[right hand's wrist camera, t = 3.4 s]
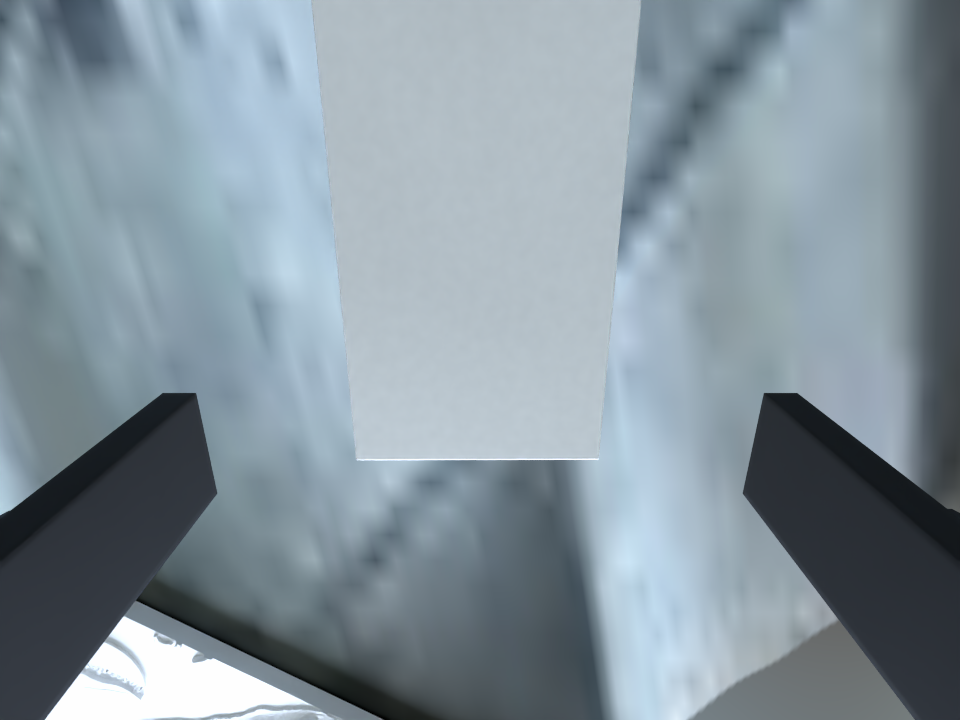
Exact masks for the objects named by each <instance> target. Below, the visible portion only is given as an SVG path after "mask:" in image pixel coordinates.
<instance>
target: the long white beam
mask: <svg viewBox="0 0 960 720" xmlns="http://www.w3.org/2000/svg"><path fill="white" fill-rule="evenodd" d="M311 1H312V11H313V21H314V31H315V42H316V52H317V62H318V72H319V83H320V93H321V103H322V113H323V124H324V134H325V144H326V155H327V165H328V175H329V185H330V196H331V206H332V216H333V226H334V237H335V247H336V257H337V267H338V278H339V288H340V298H341V308H342V319H343V329H344V339H345V349H346V360H347V370H348V380H349V391H350V401H351V411H352V421H353V432H354V442H355V452H356V459H357V460H597V459H598V458H599V449H600V438H601V428H602V417H603V406H604V395H605V385H606V374H607V363H608V353H609V342H610V331H611V320H612V310H613V299H614V288H615V278H616V267H617V256H618V245H619V235H620V224H621V213H622V203H623V192H624V181H625V170H626V160H627V149H628V138H629V128H630V117H631V106H632V95H633V85H634V74H635V63H636V53H637V42H638V31H639V21H640V10H641V0H311Z"/></svg>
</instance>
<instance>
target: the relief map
mask: <svg viewBox="0 0 960 720" xmlns="http://www.w3.org/2000/svg"><path fill="white" fill-rule="evenodd" d="M45 720H383V719H381V718H379V717H377V716H375V715H373V714H371V713H368V712H366V711H364V710H362V709H360V708H358V707H356V706H354V705H352V704H350V703H348V702H346V701H343V700H341V699H339V698H337V697H335V696H333V695H331V694H329V693H327V692H325V691H323V690H321V689H318V688H316V687H314V686H312V685H310V684H308V683H306V682H304V681H302V680H300V679H298V678H296V677H293V676H291V675H289V674H287V673H285V672H283V671H281V670H279V669H277V668H275V667H273V666H271V665H269V664H266V663H264V662H262V661H260V660H258V659H256V658H254V657H252V656H250V655H248V654H246V653H244V652H241V651H239V650H237V649H235V648H233V647H231V646H229V645H227V644H225V643H223V642H221V641H219V640H216V639H214V638H212V637H210V636H208V635H206V634H204V633H202V632H200V631H198V630H196V629H194V628H191V627H189V626H187V625H185V624H183V623H181V622H179V621H177V620H175V619H173V618H171V617H169V616H166V615H164V614H162V613H160V612H158V611H156V610H154V609H152V608H150V607H148V606H146V605H144V604H141V603H139V602H137V601H135V602H134V603H133V605H132V606H131V607H130V609H129V610H128V611H127V613H126V614H125V615H124V617H123V618H122V619H121V620H120V622H119V623H118V624H117V626H116V627H115V628H114V630H113V631H112V632H111V634H110V635H109V636H108V638H107V639H106V640H105V642H104V643H103V644H102V645H101V647H100V648H99V649H98V651H97V652H96V653H95V655H94V656H93V657H92V659H91V660H90V661H89V663H88V664H87V665H86V666H85V668H84V669H83V670H82V672H81V673H80V674H79V676H78V677H77V678H76V680H75V681H74V682H73V684H72V685H71V686H70V687H69V689H68V690H67V691H66V693H65V694H64V695H63V697H62V698H61V699H60V701H59V702H58V703H57V705H56V706H55V707H54V709H53V710H52V711H51V712H50V714H49V715H48V716H47V718H46V719H45Z"/></svg>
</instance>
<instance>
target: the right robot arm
mask: <svg viewBox="0 0 960 720" xmlns="http://www.w3.org/2000/svg"><path fill="white" fill-rule="evenodd" d="M216 494H217V490H216V485H215V481H214V476H213V471H212V467H211V462H210V457H209V452H208V448H207V443H206V438H205V433H204V429H203V424H202V419H201V415H200V410H199V405H198V400H197V396H196V393H162V394H161V395H160V396H158V397H157V398H156V399H155V400H153V401H152V402H151V403H149V404H148V405H147V406H146V407H144V408H143V409H142V410H140V411H139V412H138V413H136V414H135V415H134V416H133V417H131V418H130V419H129V420H127V421H126V422H125V423H124V424H122V425H121V426H120V427H118V428H117V429H116V430H114V431H113V432H112V433H111V434H109V435H108V436H107V437H105V438H104V439H103V440H102V441H100V442H99V443H98V444H96V445H95V446H94V447H92V448H91V449H90V450H89V451H87V452H86V453H85V454H83V455H82V456H81V457H80V458H78V459H77V460H76V461H74V462H73V463H72V464H70V465H69V466H68V467H67V468H65V469H64V470H63V471H61V472H60V473H59V474H58V475H56V476H55V477H54V478H52V479H51V480H50V481H48V482H47V483H46V484H45V485H43V486H42V487H41V488H39V489H38V490H37V491H35V492H34V493H33V494H32V495H30V496H29V497H28V498H26V499H25V500H24V501H23V502H21V503H20V504H19V505H17V506H16V507H15V508H13V509H12V510H11V511H8V512H6V513H4V514H2V515H0V720H45V719H46V718H47V716H48V715H49V714H50V712H51V711H52V710H53V709H54V707H55V706H56V705H57V703H58V702H59V701H60V699H61V698H62V697H63V695H64V694H65V693H66V691H67V690H68V689H69V687H70V686H71V685H72V684H73V682H74V681H75V680H76V678H77V677H78V676H79V674H80V673H81V672H82V670H83V669H84V668H85V666H86V665H87V664H88V663H89V661H90V660H91V659H92V657H93V656H94V655H95V653H96V652H97V651H98V649H99V648H100V647H101V645H102V644H103V643H104V642H105V640H106V639H107V638H108V636H109V635H110V634H111V632H112V631H113V630H114V628H115V627H116V626H117V624H118V623H119V622H120V620H121V619H122V618H123V617H124V615H125V614H126V613H127V611H128V610H129V609H130V607H131V606H132V605H133V603H134V602H135V601H136V599H137V598H138V597H139V596H140V594H141V593H142V592H143V590H144V589H145V588H146V586H147V585H148V584H149V582H150V581H151V580H152V578H153V577H154V576H155V575H156V573H157V572H158V571H159V569H160V568H161V567H162V565H163V564H164V563H165V561H166V560H167V559H168V557H169V556H170V555H171V553H172V552H173V551H174V550H175V548H176V547H177V546H178V544H179V543H180V542H181V540H182V539H183V538H184V536H185V535H186V534H187V532H188V531H189V530H190V529H191V527H192V526H193V525H194V523H195V522H196V521H197V519H198V518H199V517H200V515H201V514H202V513H203V511H204V510H205V509H206V508H207V506H208V505H209V504H210V502H211V501H212V500H213V498H214V497H215V496H216ZM743 494H744V496H745V497H746V498H747V500H748V501H749V502H750V504H751V505H752V506H753V508H754V509H755V510H756V511H757V513H758V514H759V515H760V517H761V518H762V519H763V521H764V522H765V523H766V525H767V526H768V527H769V529H770V530H771V531H772V532H773V534H774V535H775V536H776V538H777V539H778V540H779V542H780V543H781V544H782V546H783V547H784V548H785V550H786V551H787V552H788V553H789V555H790V556H791V557H792V559H793V560H794V561H795V563H796V564H797V565H798V567H799V568H800V569H801V571H802V572H803V573H804V575H805V576H806V577H807V578H808V580H809V581H810V582H811V584H812V585H813V586H814V588H815V589H816V590H817V592H818V593H819V594H820V596H821V597H822V598H823V599H824V601H825V602H826V603H827V605H828V606H829V607H830V609H831V610H832V611H833V613H834V614H835V615H836V617H837V618H838V619H839V620H840V622H841V623H842V624H843V626H844V627H845V628H846V630H847V631H848V632H849V634H850V635H851V636H852V638H853V639H854V640H855V641H856V643H857V644H858V645H859V647H860V648H861V649H862V651H863V652H864V653H865V655H866V656H867V657H868V659H869V660H870V661H871V663H872V664H873V665H874V666H875V668H876V669H877V670H878V672H879V673H880V674H881V676H882V677H883V678H884V680H885V681H886V682H887V684H888V685H889V686H890V687H891V689H892V690H893V691H894V693H895V694H896V695H897V697H898V698H899V699H900V701H901V702H902V703H903V705H904V706H905V707H906V708H907V710H908V711H909V712H910V714H911V715H912V716H913V718H914V719H915V720H960V513H959V512H957V511H955V510H953V509H947V508H945V507H944V506H943V505H941V504H940V503H939V502H937V501H936V500H935V499H934V498H932V497H931V496H930V495H928V494H927V493H926V492H925V491H923V490H922V489H921V488H919V487H918V486H917V485H915V484H914V483H913V482H912V481H910V480H909V479H908V478H906V477H905V476H904V475H902V474H901V473H900V472H899V471H897V470H896V469H895V468H893V467H892V466H891V465H890V464H888V463H887V462H886V461H884V460H883V459H882V458H880V457H879V456H878V455H877V454H875V453H874V452H873V451H871V450H870V449H869V448H868V447H866V446H865V445H864V444H862V443H861V442H860V441H858V440H857V439H856V438H855V437H853V436H852V435H851V434H849V433H848V432H847V431H846V430H844V429H843V428H842V427H840V426H839V425H838V424H836V423H835V422H834V421H833V420H831V419H830V418H829V417H827V416H826V415H825V414H824V413H822V412H821V411H820V410H818V409H817V408H816V407H814V406H813V405H812V404H811V403H809V402H808V401H807V400H805V399H804V398H803V397H802V396H800V395H799V394H798V393H764V396H763V400H762V405H761V410H760V415H759V419H758V424H757V429H756V433H755V438H754V443H753V448H752V452H751V457H750V462H749V467H748V471H747V476H746V481H745V485H744V490H743Z"/></svg>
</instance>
